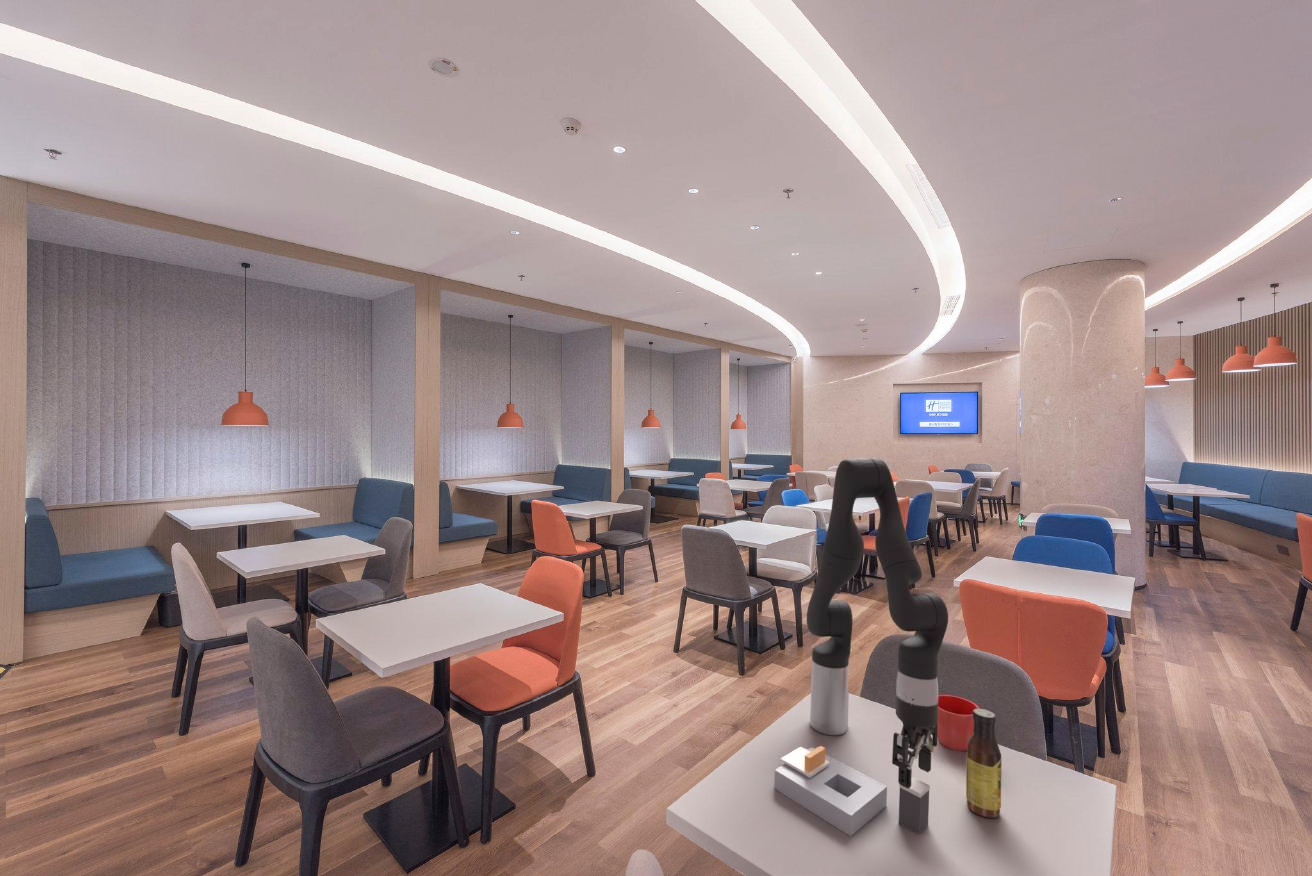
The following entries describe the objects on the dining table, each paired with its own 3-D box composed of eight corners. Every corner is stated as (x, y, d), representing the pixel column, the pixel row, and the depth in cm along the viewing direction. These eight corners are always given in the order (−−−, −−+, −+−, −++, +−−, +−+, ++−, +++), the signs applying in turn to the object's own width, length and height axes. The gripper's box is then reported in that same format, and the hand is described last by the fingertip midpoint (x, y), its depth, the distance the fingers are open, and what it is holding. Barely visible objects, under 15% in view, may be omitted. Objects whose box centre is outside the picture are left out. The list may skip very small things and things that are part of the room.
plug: (907, 814, 111) (909, 775, 111) (928, 825, 108) (929, 785, 108) (898, 823, 109) (899, 783, 109) (919, 835, 106) (920, 793, 106)
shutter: (800, 749, 126) (801, 733, 126) (829, 764, 120) (830, 748, 120) (780, 761, 121) (781, 744, 121) (809, 777, 115) (810, 760, 115)
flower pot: (920, 736, 141) (922, 698, 141) (949, 727, 146) (951, 691, 146) (959, 759, 131) (960, 718, 131) (988, 749, 136) (989, 710, 136)
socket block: (811, 764, 127) (812, 747, 127) (886, 805, 114) (887, 786, 114) (774, 788, 118) (774, 770, 118) (850, 836, 105) (851, 815, 105)
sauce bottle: (1005, 822, 110) (1009, 723, 110) (971, 817, 111) (974, 719, 111) (992, 801, 116) (995, 708, 116) (960, 796, 117) (963, 704, 117)
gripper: (919, 713, 101) (917, 802, 101) (951, 692, 110) (950, 773, 110) (880, 698, 107) (878, 782, 106) (914, 679, 116) (912, 756, 116)
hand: (914, 777), depth 108 cm, fingers open, 8 cm apart
